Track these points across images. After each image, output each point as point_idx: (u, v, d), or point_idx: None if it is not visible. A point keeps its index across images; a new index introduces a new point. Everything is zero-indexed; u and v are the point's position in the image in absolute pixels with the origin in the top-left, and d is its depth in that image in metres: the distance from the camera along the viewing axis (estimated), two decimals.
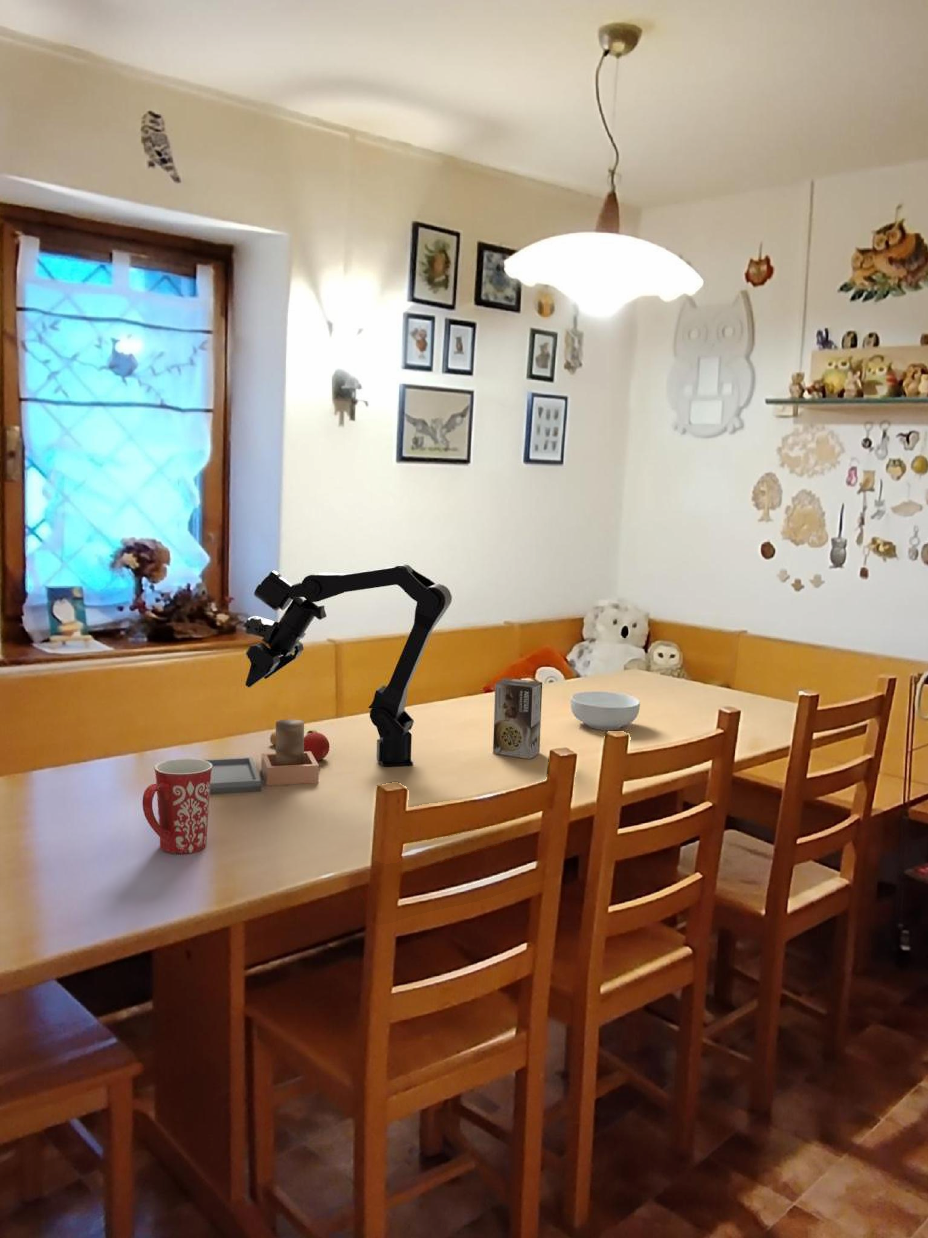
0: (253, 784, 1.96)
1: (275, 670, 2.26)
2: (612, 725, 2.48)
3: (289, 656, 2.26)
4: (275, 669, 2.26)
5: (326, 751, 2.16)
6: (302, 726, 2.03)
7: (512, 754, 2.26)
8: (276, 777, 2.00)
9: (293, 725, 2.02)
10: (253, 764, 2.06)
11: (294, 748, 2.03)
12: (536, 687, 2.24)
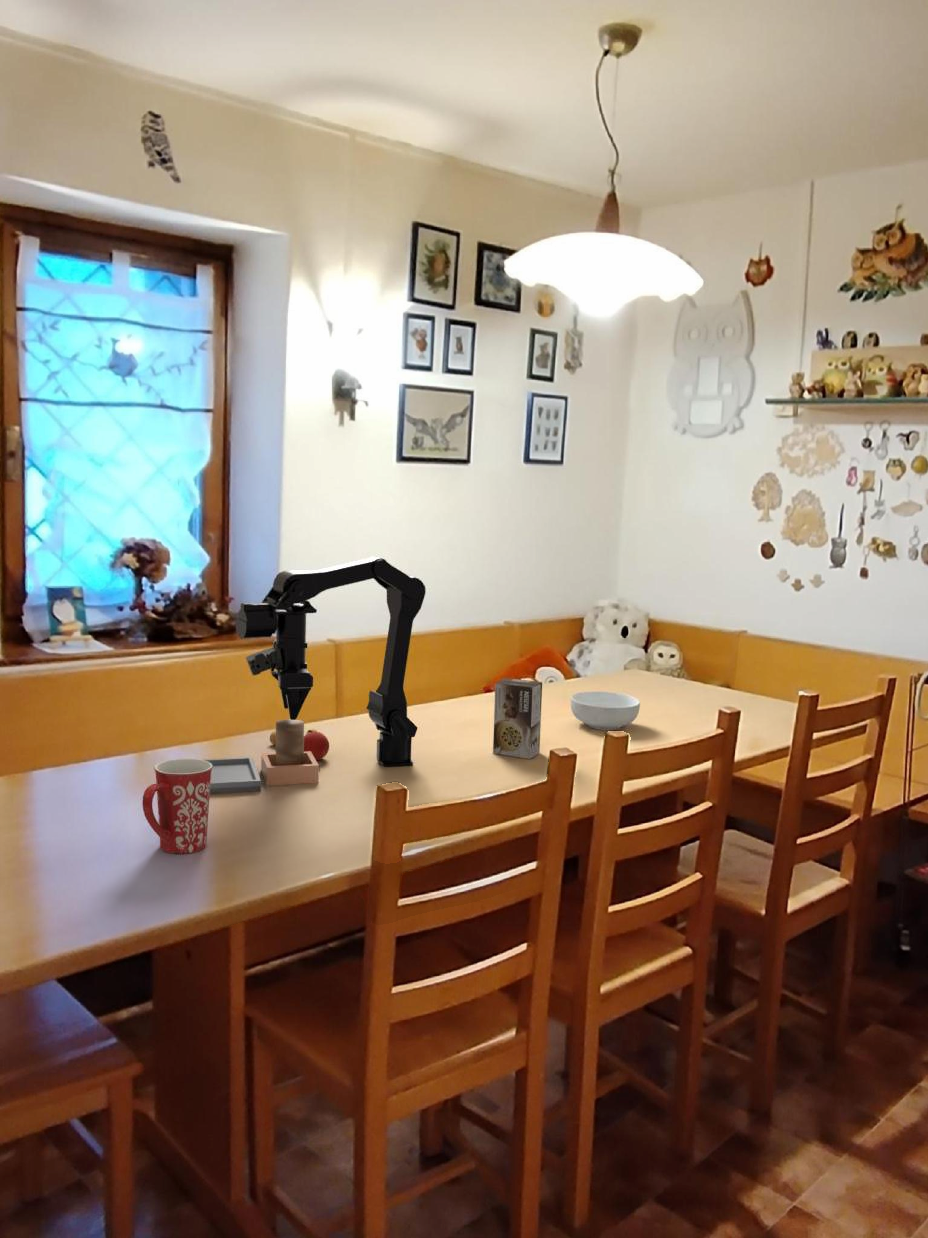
0: (253, 784, 1.96)
1: None
2: (612, 725, 2.48)
3: None
4: None
5: (326, 750, 2.17)
6: (302, 726, 2.03)
7: (512, 754, 2.26)
8: (276, 777, 2.00)
9: (293, 725, 2.02)
10: (253, 764, 2.06)
11: (294, 748, 2.03)
12: (536, 687, 2.24)
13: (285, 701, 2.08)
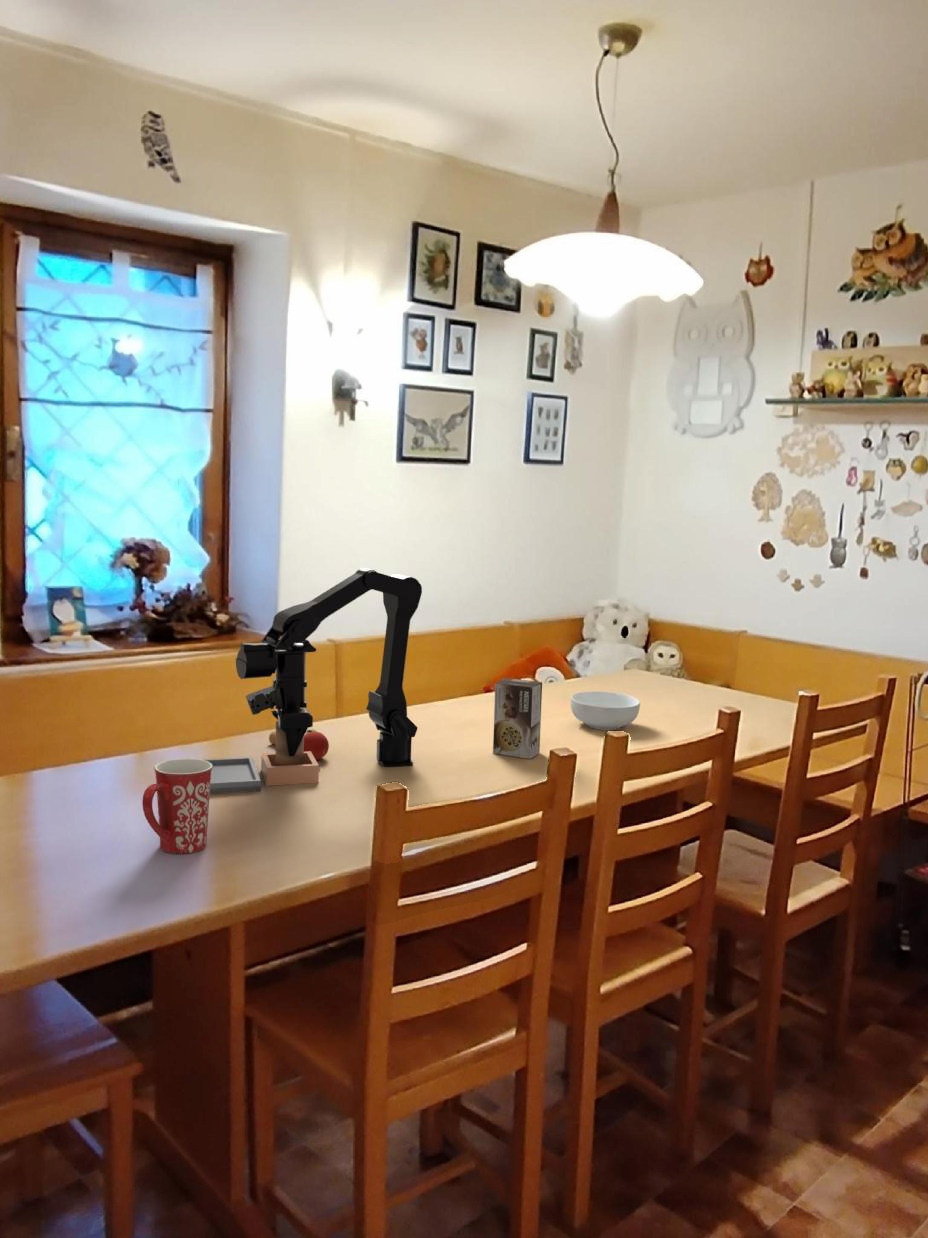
0: (253, 784, 1.96)
1: None
2: (612, 725, 2.48)
3: None
4: None
5: (325, 750, 2.17)
6: None
7: (512, 754, 2.26)
8: (276, 777, 2.00)
9: None
10: (253, 764, 2.06)
11: None
12: (536, 687, 2.24)
13: None
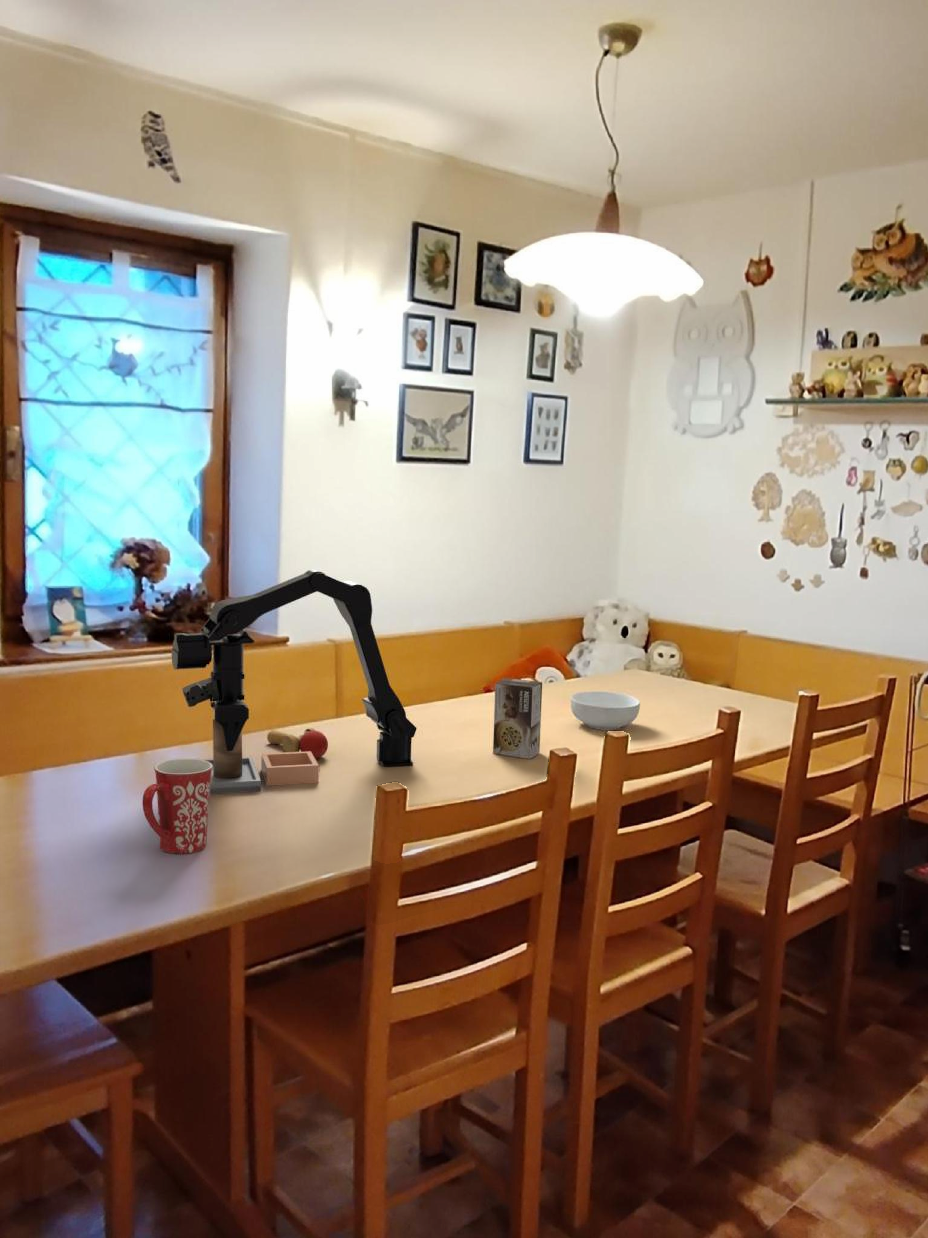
0: (253, 784, 1.96)
1: None
2: (612, 725, 2.48)
3: None
4: None
5: (325, 749, 2.18)
6: None
7: (512, 754, 2.26)
8: (276, 777, 2.00)
9: None
10: (253, 764, 2.06)
11: None
12: (536, 687, 2.24)
13: None
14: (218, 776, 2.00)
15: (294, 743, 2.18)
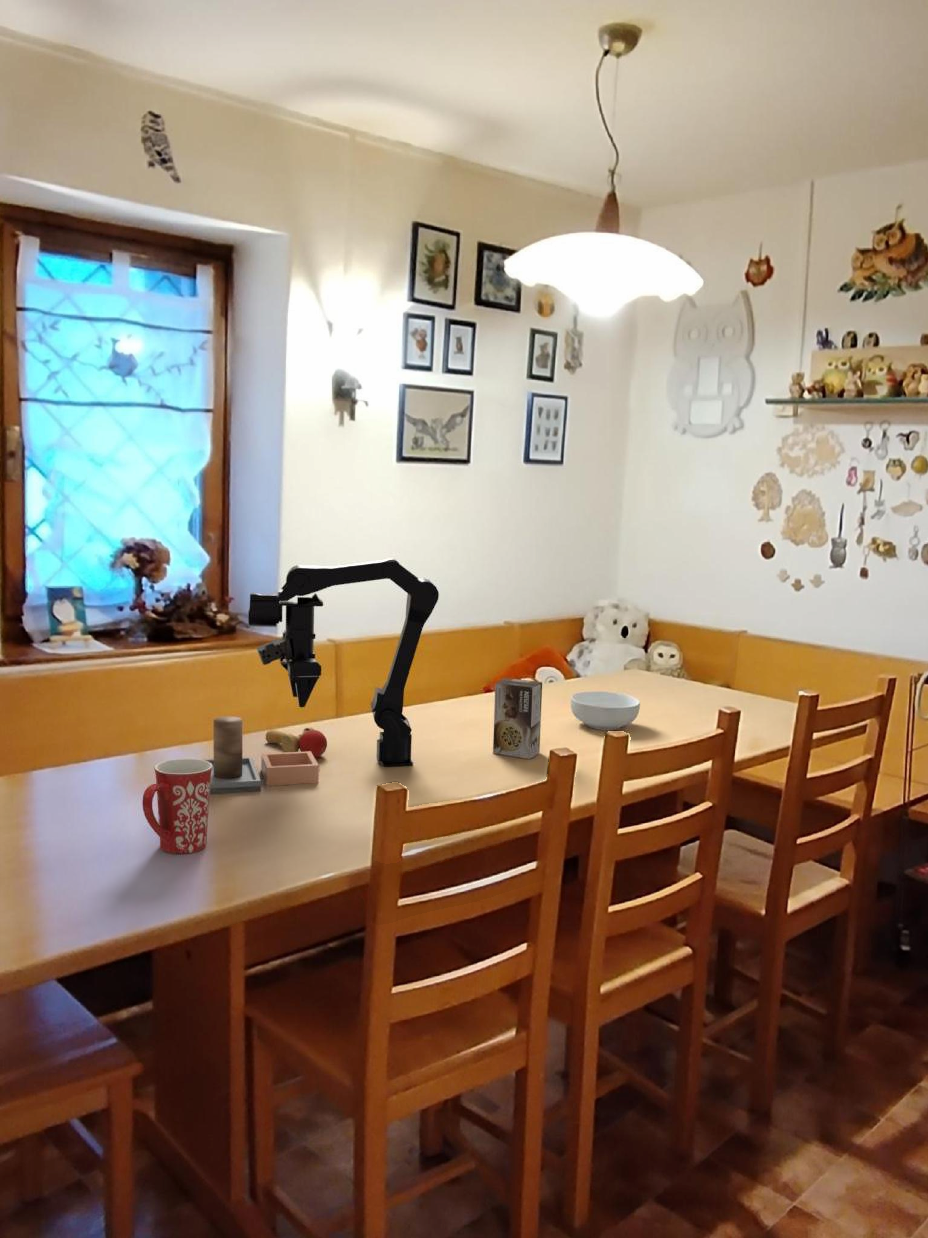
0: (253, 784, 1.96)
1: None
2: (612, 725, 2.48)
3: None
4: None
5: (324, 748, 2.19)
6: (240, 723, 2.00)
7: (512, 754, 2.26)
8: (276, 777, 2.00)
9: (230, 722, 1.99)
10: (253, 764, 2.06)
11: (232, 746, 1.99)
12: (536, 687, 2.24)
13: (294, 690, 2.17)
14: (218, 776, 2.00)
15: (293, 742, 2.19)
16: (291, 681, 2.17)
